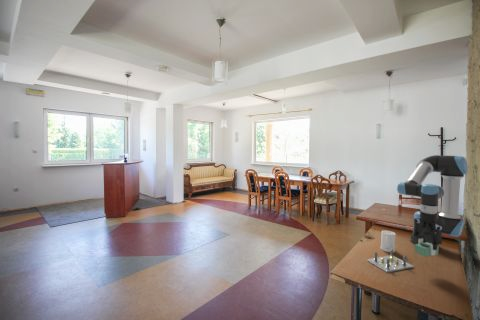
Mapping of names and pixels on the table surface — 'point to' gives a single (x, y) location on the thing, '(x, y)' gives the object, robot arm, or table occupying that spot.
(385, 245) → the mug
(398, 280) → the table surface
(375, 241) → the table surface
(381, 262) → the chassis
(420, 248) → the board
